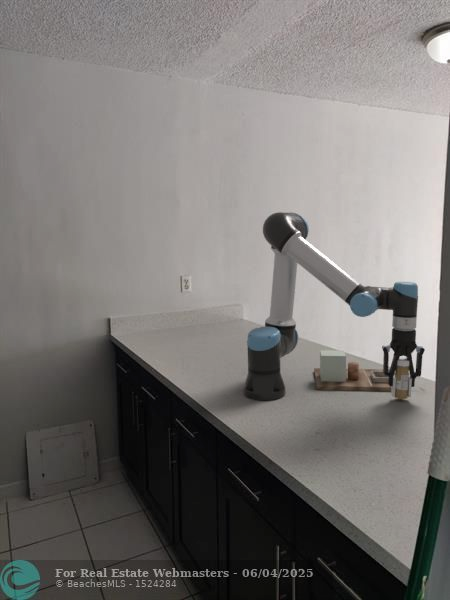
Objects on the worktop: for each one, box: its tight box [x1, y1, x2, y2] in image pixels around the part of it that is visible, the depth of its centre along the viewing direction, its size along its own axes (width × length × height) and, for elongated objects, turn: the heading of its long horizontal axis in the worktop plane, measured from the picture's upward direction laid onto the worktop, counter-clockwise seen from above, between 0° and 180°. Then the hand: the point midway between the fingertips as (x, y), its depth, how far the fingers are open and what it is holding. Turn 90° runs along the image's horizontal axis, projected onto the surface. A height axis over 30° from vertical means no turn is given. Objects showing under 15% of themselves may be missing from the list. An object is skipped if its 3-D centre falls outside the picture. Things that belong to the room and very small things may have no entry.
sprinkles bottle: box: [394, 357, 410, 400], centre depth 161 cm, size 5×5×14 cm
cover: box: [319, 349, 347, 382], centre depth 182 cm, size 9×8×10 cm
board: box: [313, 361, 395, 392], centre depth 183 cm, size 31×22×8 cm
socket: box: [370, 371, 395, 383], centre depth 180 cm, size 8×8×2 cm
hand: (400, 395), depth 162 cm, fingers closed on sprinkles bottle, 4 cm apart
